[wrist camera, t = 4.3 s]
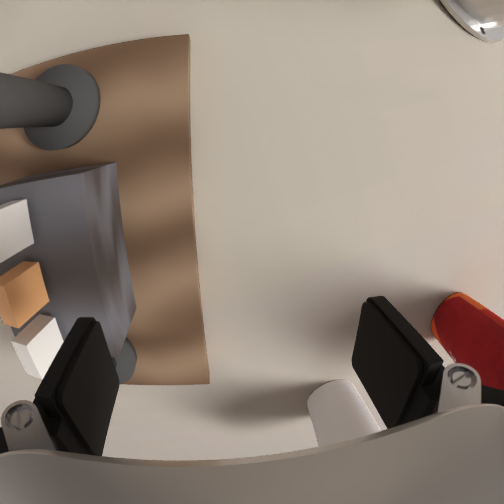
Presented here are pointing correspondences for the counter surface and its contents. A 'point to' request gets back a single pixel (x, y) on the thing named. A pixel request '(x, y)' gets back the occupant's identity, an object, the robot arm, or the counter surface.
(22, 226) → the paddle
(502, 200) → the counter surface
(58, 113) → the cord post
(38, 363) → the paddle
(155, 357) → the breaker panel
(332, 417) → the white cup
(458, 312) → the coffee cup
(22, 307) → the paddle middle
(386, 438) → the robot arm
